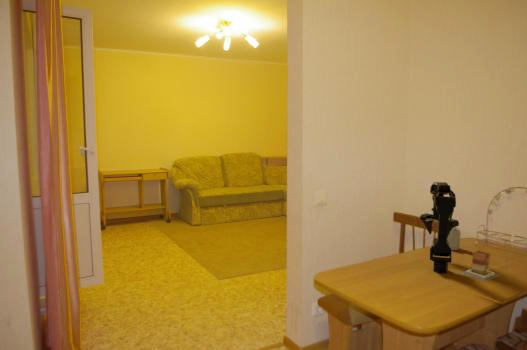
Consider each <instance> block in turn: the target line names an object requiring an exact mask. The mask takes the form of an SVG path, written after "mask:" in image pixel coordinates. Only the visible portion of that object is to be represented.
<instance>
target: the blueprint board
mask: <svg viewBox="0 0 527 350" xmlns="http://www.w3.org/2000/svg"><path fill="white" fill-rule="evenodd" d="M460 274H463V275H467V276H469V277H472V278H475V279H478V280H481V281H484V282H488V281H490V280H492V279H495V278H497V277H500V276H501V274H499V273H496V272H494V271H491V270H489V274H487V275H485V276H482V275H479V274H476V273H473V272H472V267H471V268H469V269H466V270H463V271H461V272H460Z"/></svg>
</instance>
